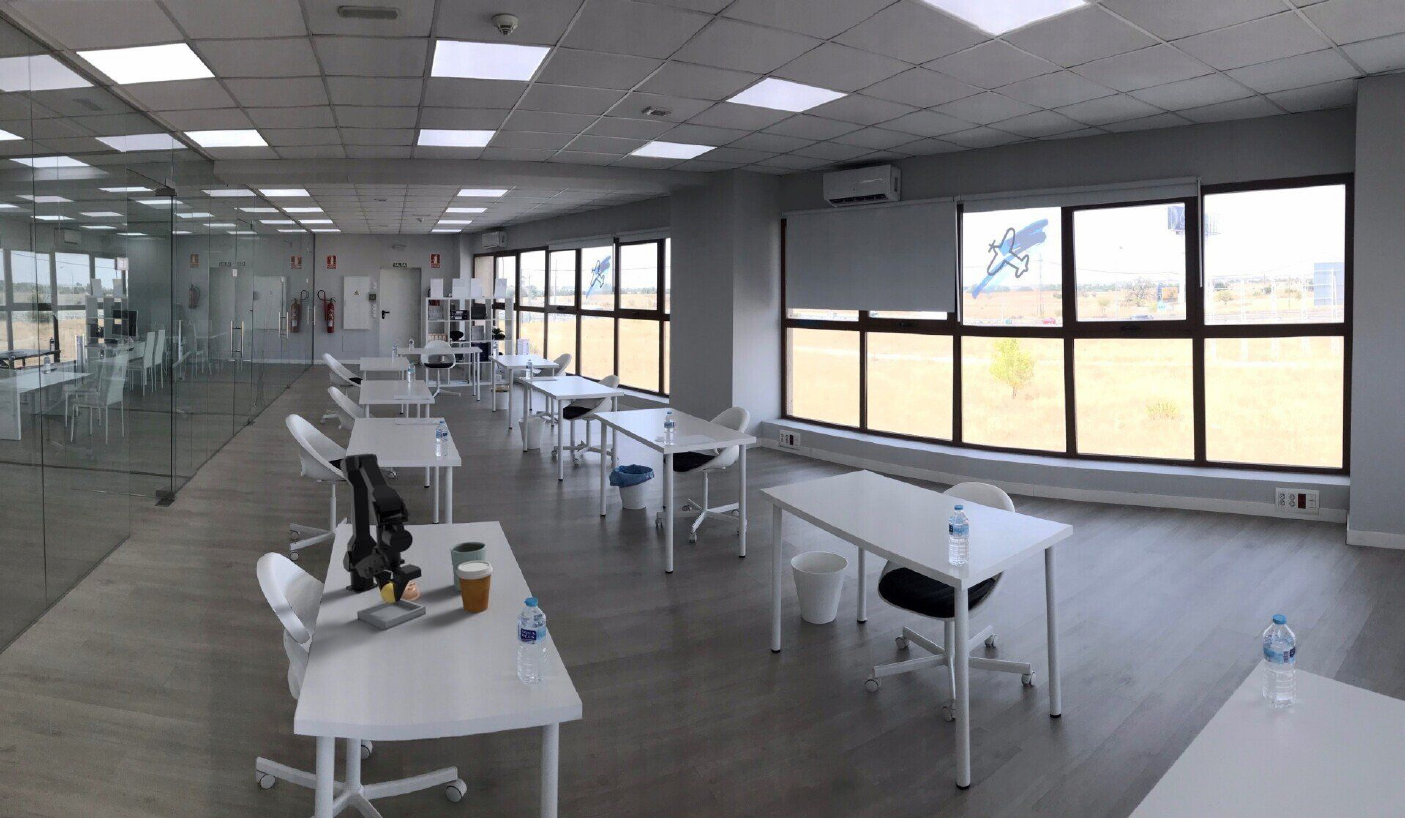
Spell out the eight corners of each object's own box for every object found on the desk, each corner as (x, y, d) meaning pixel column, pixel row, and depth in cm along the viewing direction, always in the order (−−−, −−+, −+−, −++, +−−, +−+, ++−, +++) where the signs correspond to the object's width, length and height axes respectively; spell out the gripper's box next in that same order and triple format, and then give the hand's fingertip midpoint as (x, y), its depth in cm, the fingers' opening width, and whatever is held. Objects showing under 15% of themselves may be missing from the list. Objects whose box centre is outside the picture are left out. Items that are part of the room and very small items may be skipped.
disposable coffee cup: (483, 616, 197) (482, 573, 196) (450, 613, 199) (449, 570, 198) (500, 602, 207) (499, 561, 205) (468, 599, 209) (467, 558, 207)
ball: (377, 602, 196) (376, 584, 195) (393, 596, 200) (393, 578, 199) (389, 607, 193) (388, 588, 192) (405, 600, 197) (404, 582, 197)
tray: (357, 619, 195) (357, 611, 195) (397, 604, 205) (397, 596, 205) (386, 629, 189) (385, 622, 188) (425, 613, 199) (425, 606, 198)
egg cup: (385, 599, 208) (384, 587, 208) (408, 590, 215) (407, 578, 214) (402, 605, 204) (401, 592, 204) (425, 596, 211) (425, 584, 210)
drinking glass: (459, 595, 212) (457, 554, 210) (446, 584, 220) (444, 545, 218) (492, 587, 218) (491, 547, 217) (479, 577, 226) (478, 539, 225)
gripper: (338, 543, 192) (341, 601, 194) (383, 557, 183) (386, 617, 185) (377, 533, 202) (379, 588, 204) (421, 545, 192) (424, 603, 194)
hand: (391, 599), depth 196 cm, fingers closed on ball, 5 cm apart
